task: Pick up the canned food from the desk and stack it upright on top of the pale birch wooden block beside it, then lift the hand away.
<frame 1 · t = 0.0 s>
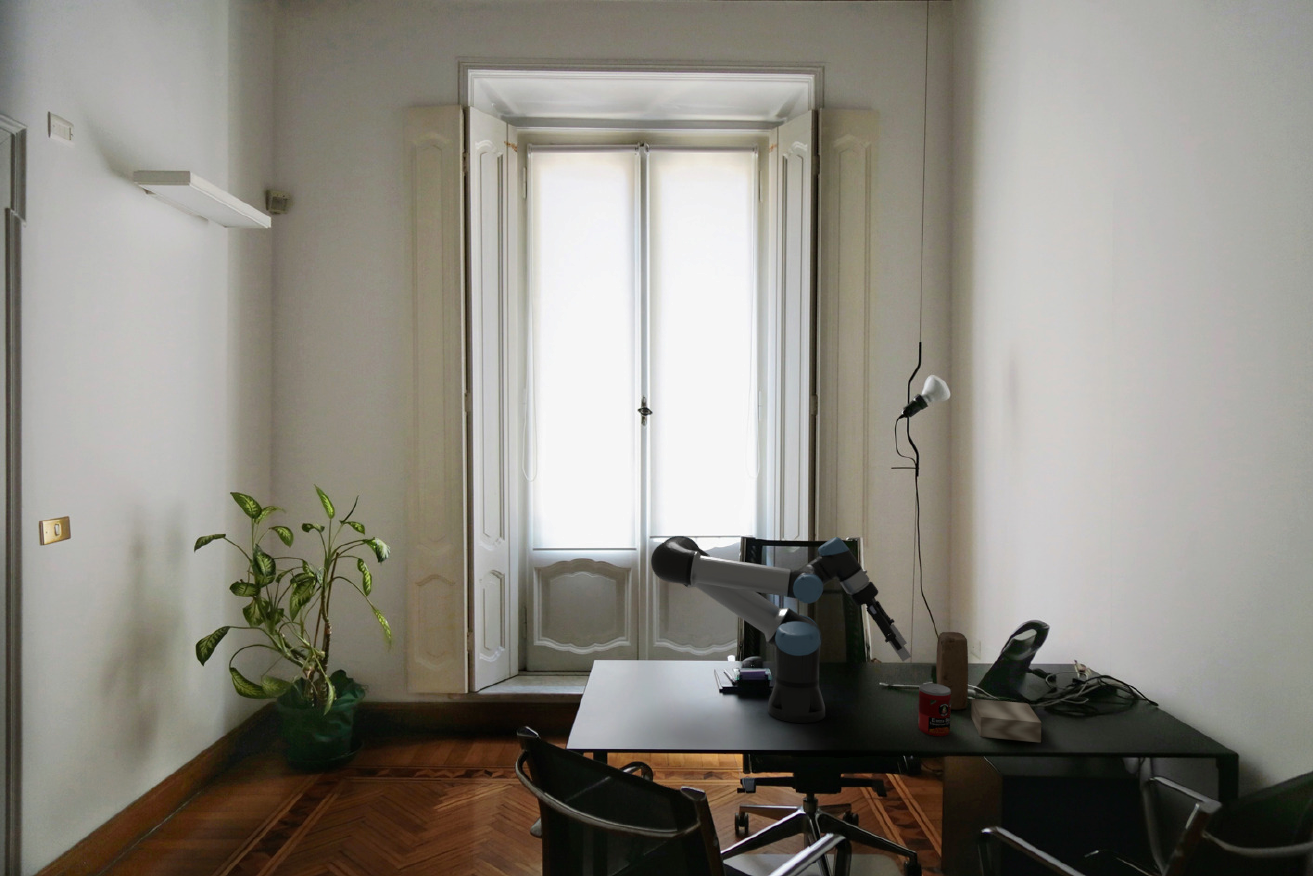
hand: (905, 652, 217), 15 cm above the table, tool tilted 35°, fingers open, 13 cm apart
block: (950, 705, 220), on the table
birch base block: (1004, 729, 201), on the table
canned food: (934, 731, 200), on the table
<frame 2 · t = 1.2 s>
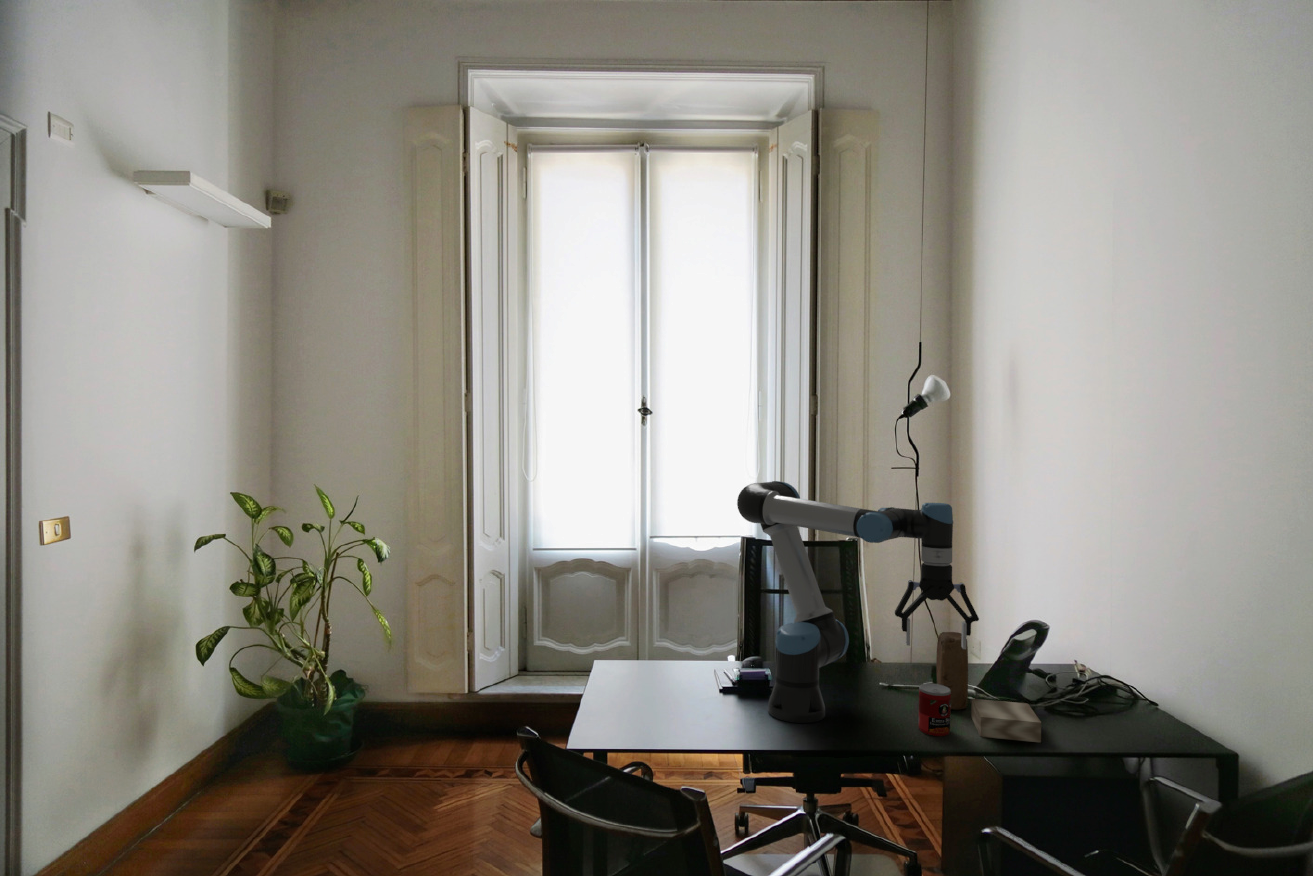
hand: (935, 646, 200), 22 cm above the table, tool pointing down, fingers open, 13 cm apart
nothing on the table moved.
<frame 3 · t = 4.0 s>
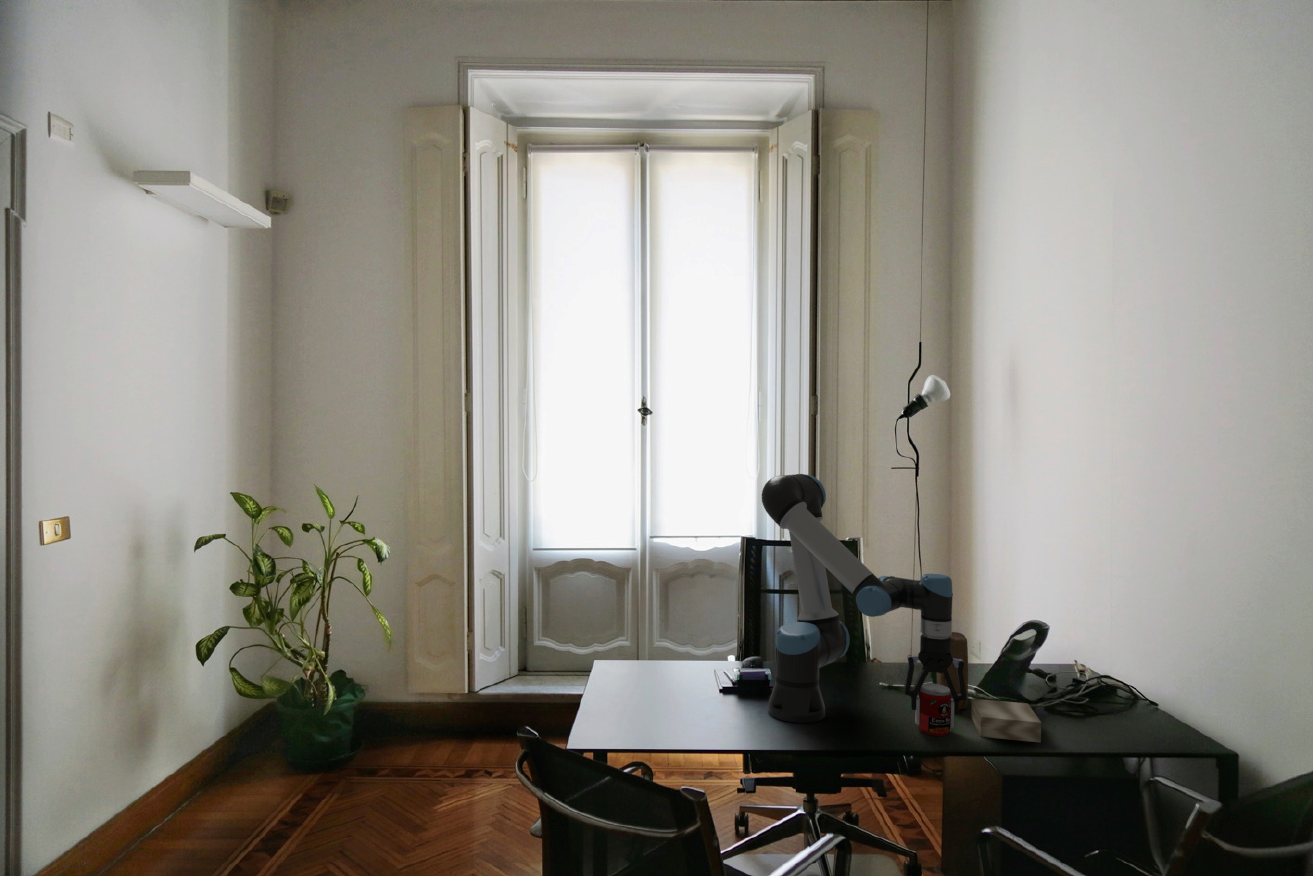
hand: (934, 724, 200), 2 cm above the table, tool pointing down, fingers closed on canned food, 8 cm apart
canned food: (934, 731, 200), on the table, touching gripper
everything else where it was.
when the fingers open (8 cm above the table, at t = 10.2 s): canned food drops 1 cm, resting on birch base block.
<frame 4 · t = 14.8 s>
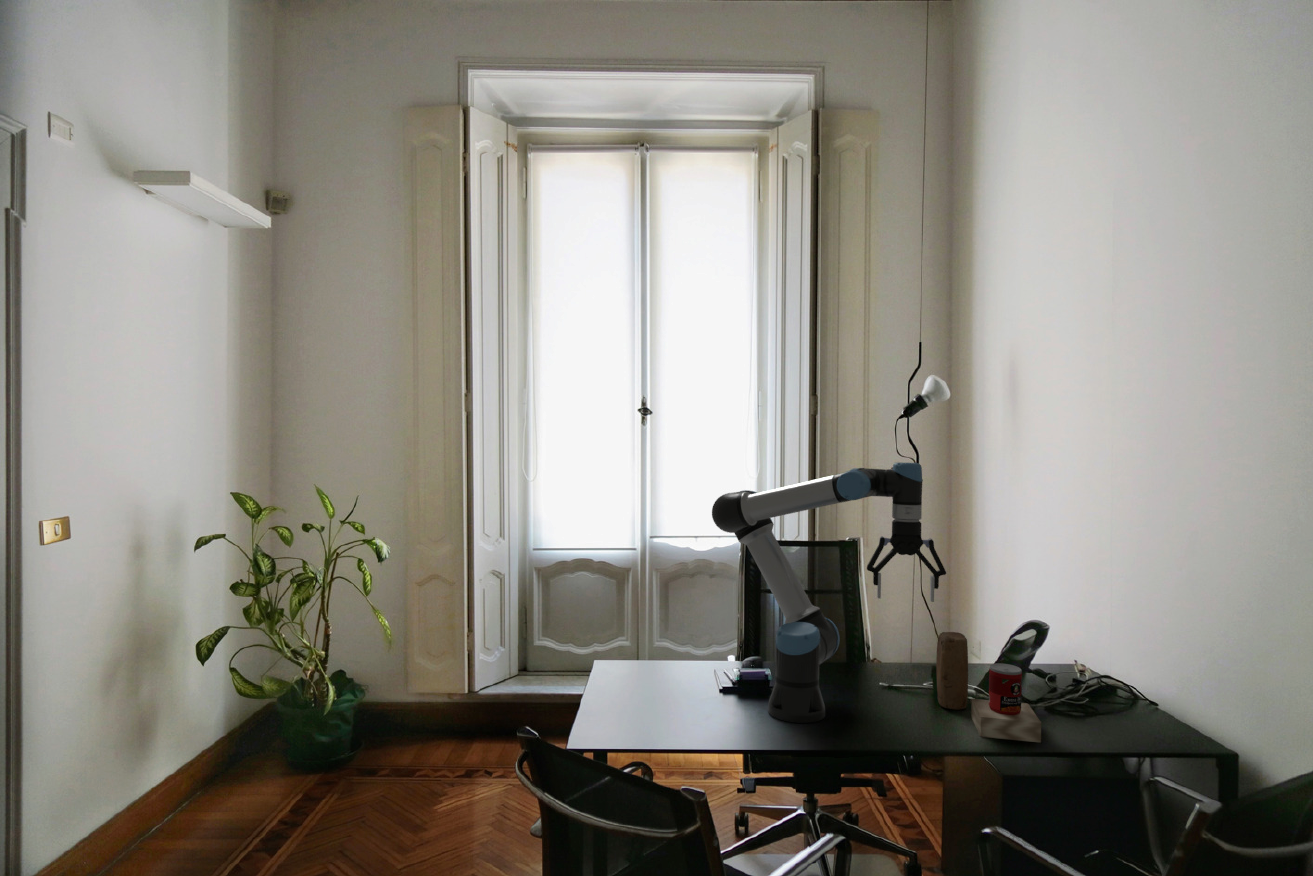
hand: (905, 599, 209), 32 cm above the table, tool pointing down, fingers open, 13 cm apart
canned food: (1004, 710, 201), point 5 cm above the table, touching birch base block
everything else where it was.
at the end: canned food inside the target area on the birch base block (0.1 cm from its centre), point 4.8 cm above the birch base block's base; canned food tilted 0°; the gripper is holding nothing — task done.
